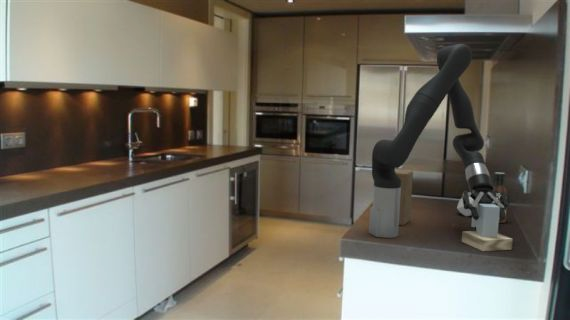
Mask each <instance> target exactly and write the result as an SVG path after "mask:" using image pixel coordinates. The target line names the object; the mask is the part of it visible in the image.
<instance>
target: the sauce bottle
mask: <svg viewBox="0 0 570 320" xmlns="http://www.w3.org/2000/svg"><path fill="white" fill-rule="evenodd" d="M493 177H494V178H493V179H494V180H493V183H492V185H493V190H494V192H495V193H501V192H504V194H505V196H506V199H507V200H508V195H507V194H508V190H507V187H506V185H505V178H506V173H505V172H499V171H498V172H497V171H496V172H494V174H493ZM496 198H497V197H496ZM499 202H500V201H499ZM504 211H505V214H506V215H507V209H506V210H504ZM506 219H507V217H506V218H505V219H504V220H503V221H500V218H499V224H504V223H506Z"/></svg>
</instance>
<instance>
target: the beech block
mask: <svg viewBox="0 0 570 320" xmlns="http://www.w3.org/2000/svg"><path fill="white" fill-rule="evenodd" d="M513 240H514V239H513V238H512V237H509V236H506V235H503V234H501V233H499V232H498V236H497V237H482V236H480V235H479V234H477V233H476V230H468V231H467V230H465V231H463V230H462V233H461V242H462V243H464V244H465V245H468V246H471V247H473V248H475V249H476V250H479V251H482V252H492V251H493V252H494V251H495V252H496V251H506V250H510V251H511V250H513Z"/></svg>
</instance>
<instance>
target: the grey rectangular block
mask: <svg viewBox="0 0 570 320" xmlns="http://www.w3.org/2000/svg"><path fill="white" fill-rule="evenodd" d="M499 213H500V207H498V206H496V205H494V204H478V214H479V218H478V220H477V227H476V228H475V229H476V230H475V231H476V233H477V234H479V235H480V236H482V237H497V236H498V233H499V224H500V223H499Z"/></svg>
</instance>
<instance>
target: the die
mask: <svg viewBox="0 0 570 320" xmlns="http://www.w3.org/2000/svg"><path fill="white" fill-rule="evenodd" d="M469 202H470V204H473V199H472V198H471V197H469ZM456 209H457V210H458V212H459V213H460V214H461V215H463V216H464V217H472V213H471V210H470V209H465V208H464V205H463V199H462V197H461V198H460V200H459V201H458V203H457V207H456Z"/></svg>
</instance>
